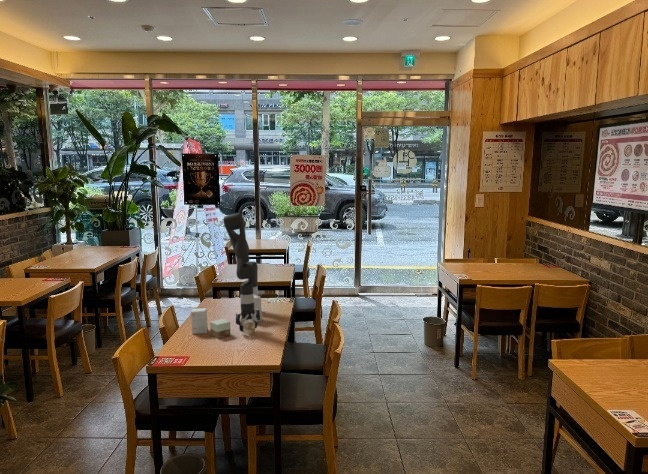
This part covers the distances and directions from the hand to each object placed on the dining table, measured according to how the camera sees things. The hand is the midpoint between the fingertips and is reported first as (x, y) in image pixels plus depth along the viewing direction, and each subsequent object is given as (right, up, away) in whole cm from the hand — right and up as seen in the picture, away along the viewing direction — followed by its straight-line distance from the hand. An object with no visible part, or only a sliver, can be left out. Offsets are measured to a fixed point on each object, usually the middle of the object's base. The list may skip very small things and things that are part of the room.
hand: (248, 329), depth 255 cm
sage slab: (-15, +1, -4) cm, 15 cm away
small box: (-28, -2, +3) cm, 28 cm away
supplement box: (-1, +1, +22) cm, 22 cm away
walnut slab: (-15, -3, -3) cm, 16 cm away
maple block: (0, -2, 0) cm, 2 cm away
